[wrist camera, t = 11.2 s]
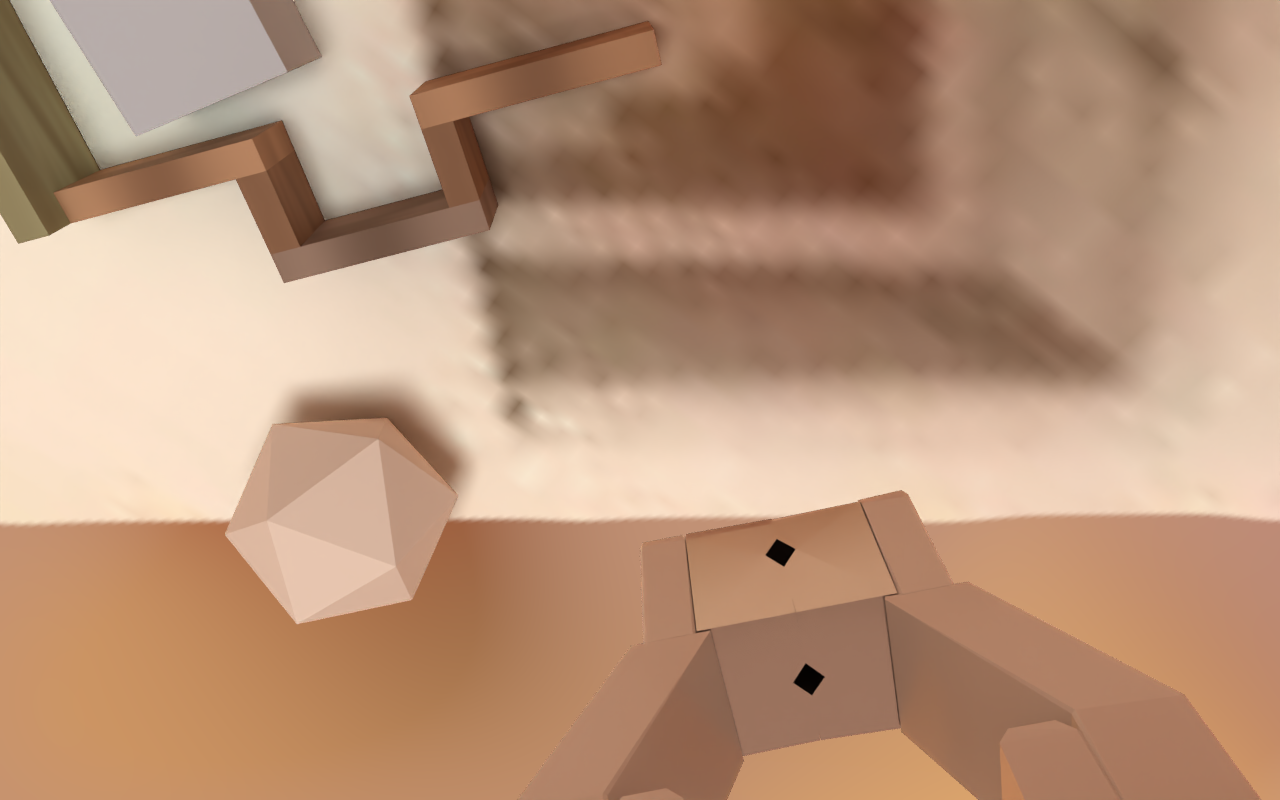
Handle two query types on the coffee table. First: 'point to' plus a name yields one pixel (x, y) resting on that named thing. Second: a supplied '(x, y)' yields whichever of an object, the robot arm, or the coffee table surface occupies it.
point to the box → (284, 156)
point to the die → (340, 516)
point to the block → (184, 50)
